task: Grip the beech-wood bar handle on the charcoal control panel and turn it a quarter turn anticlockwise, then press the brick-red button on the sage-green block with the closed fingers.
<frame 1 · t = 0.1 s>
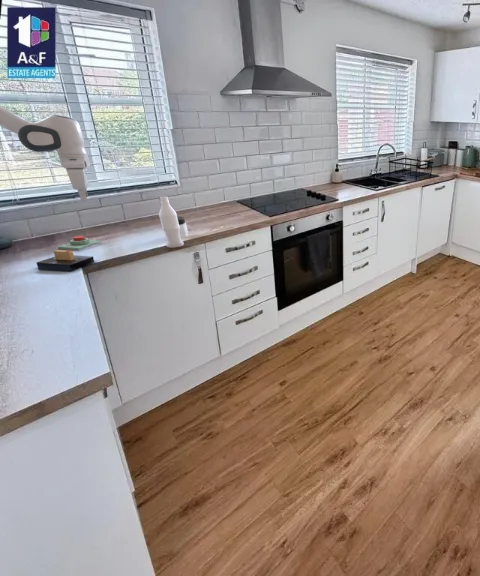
hand: (84, 198, 146), 26 cm above the countertop, tool pointing down, fingers open, 8 cm apart
button block: (81, 247, 172), on the countertop
panel: (67, 266, 149), on the countertop
water bottle: (176, 250, 175), on the countertop
handle: (64, 254, 147), point 5 cm above the countertop, hinge at 0.0°
jar: (180, 241, 188), on the countertop
button: (78, 238, 171), point 4 cm above the countertop, slide at 0.1 cm
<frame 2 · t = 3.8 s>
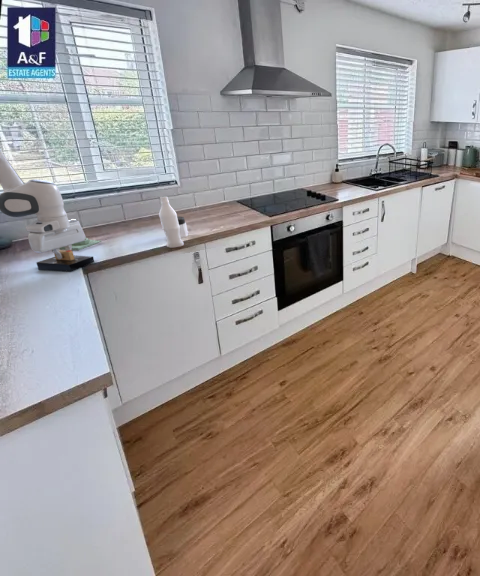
hand: (64, 257, 147), 4 cm above the countertop, tool pointing down, fingers closed on handle, 2 cm apart
handle: (64, 254, 147), point 5 cm above the countertop, hinge at 0.0°, touching gripper
everything else where it was.
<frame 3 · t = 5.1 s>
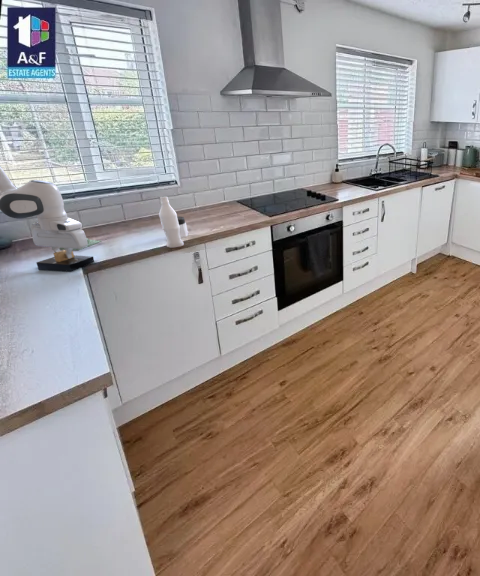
hand: (65, 257, 148), 4 cm above the countertop, tool pointing down, fingers closed on handle, 2 cm apart
handle: (64, 254, 147), point 5 cm above the countertop, hinge at 89.6°, touching gripper
everything else where it was.
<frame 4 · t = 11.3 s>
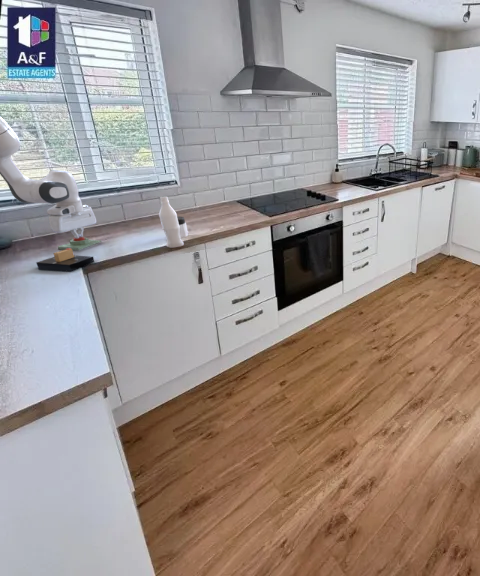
hand: (79, 237, 171), 5 cm above the countertop, tool pointing down, fingers closed, pressing on button
handle: (64, 254, 147), point 5 cm above the countertop, hinge at 89.6°
button: (79, 239, 171), point 4 cm above the countertop, slide at -0.4 cm, touching gripper
everything else where it was.
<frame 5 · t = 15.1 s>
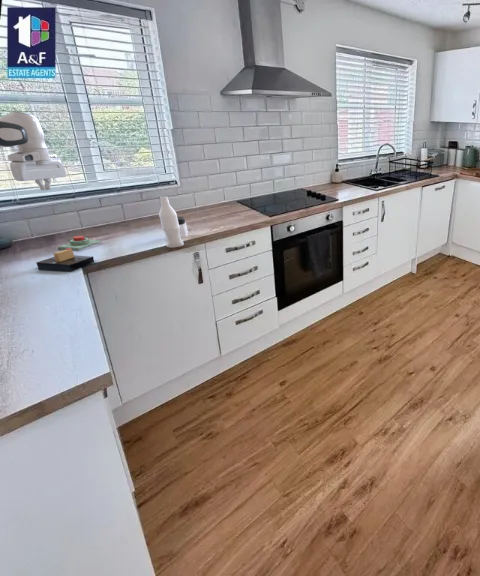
hand: (45, 190, 157), 27 cm above the countertop, tool pointing down, fingers closed
button: (78, 238, 171), point 4 cm above the countertop, slide at 0.1 cm
everything else where it was.
at the end: handle at +90° (first picture: +0°); button pushed in 1.0 cm at the most during the clip, back to where it started at the end; button slide at 0.1 cm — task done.
